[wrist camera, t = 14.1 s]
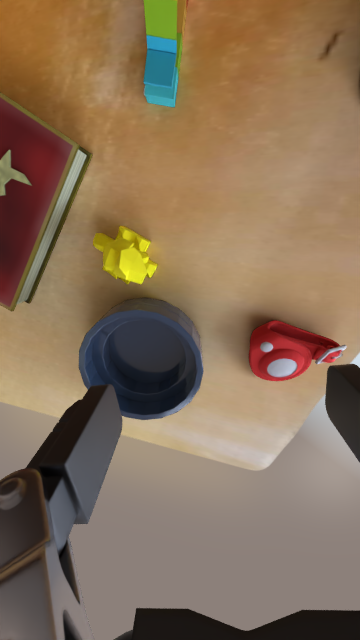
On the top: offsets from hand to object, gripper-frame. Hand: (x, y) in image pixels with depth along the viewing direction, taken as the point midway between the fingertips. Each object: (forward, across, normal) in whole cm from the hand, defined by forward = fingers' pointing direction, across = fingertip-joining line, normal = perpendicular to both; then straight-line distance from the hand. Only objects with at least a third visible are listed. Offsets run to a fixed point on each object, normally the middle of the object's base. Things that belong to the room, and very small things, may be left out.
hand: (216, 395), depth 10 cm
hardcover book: (+25, +22, -11) cm, 35 cm away
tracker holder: (+26, -11, +13) cm, 31 cm away
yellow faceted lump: (+25, +9, -4) cm, 27 cm away
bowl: (+25, +9, +10) cm, 28 cm away
